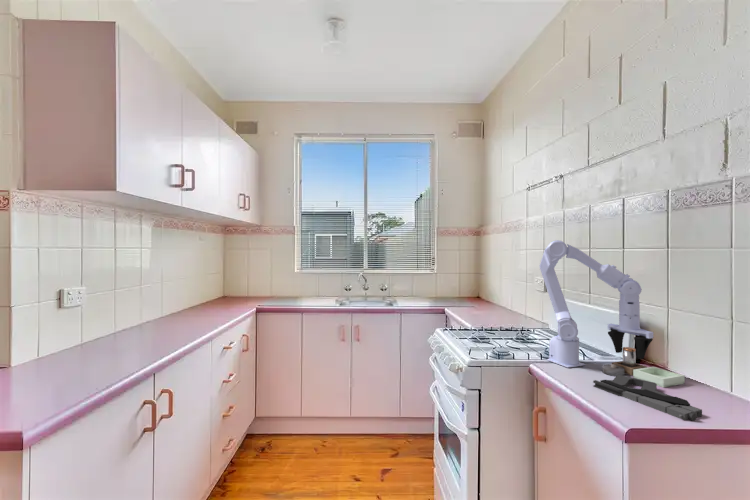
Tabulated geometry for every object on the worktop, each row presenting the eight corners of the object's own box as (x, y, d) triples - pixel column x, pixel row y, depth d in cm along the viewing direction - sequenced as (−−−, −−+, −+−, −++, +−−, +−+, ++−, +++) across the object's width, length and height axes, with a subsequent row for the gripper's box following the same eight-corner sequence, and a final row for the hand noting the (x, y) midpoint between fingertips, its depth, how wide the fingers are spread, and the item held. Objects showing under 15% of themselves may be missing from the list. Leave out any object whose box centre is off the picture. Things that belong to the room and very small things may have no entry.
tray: (633, 377, 121) (633, 369, 121) (653, 374, 124) (653, 366, 124) (663, 387, 112) (663, 379, 112) (684, 383, 115) (684, 375, 115)
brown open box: (597, 371, 127) (597, 362, 127) (626, 366, 131) (626, 358, 131) (616, 377, 120) (616, 369, 120) (647, 373, 125) (647, 364, 125)
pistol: (625, 373, 120) (590, 379, 114) (724, 405, 96) (686, 414, 90) (625, 380, 120) (590, 386, 114) (724, 413, 96) (686, 424, 90)
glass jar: (620, 370, 128) (620, 347, 128) (627, 368, 129) (627, 346, 129) (630, 373, 125) (630, 350, 125) (638, 372, 126) (638, 349, 126)
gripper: (660, 317, 121) (660, 360, 121) (617, 310, 135) (618, 348, 135) (644, 319, 119) (644, 362, 119) (603, 311, 133) (603, 350, 133)
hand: (629, 355), depth 127 cm, fingers open, 7 cm apart
